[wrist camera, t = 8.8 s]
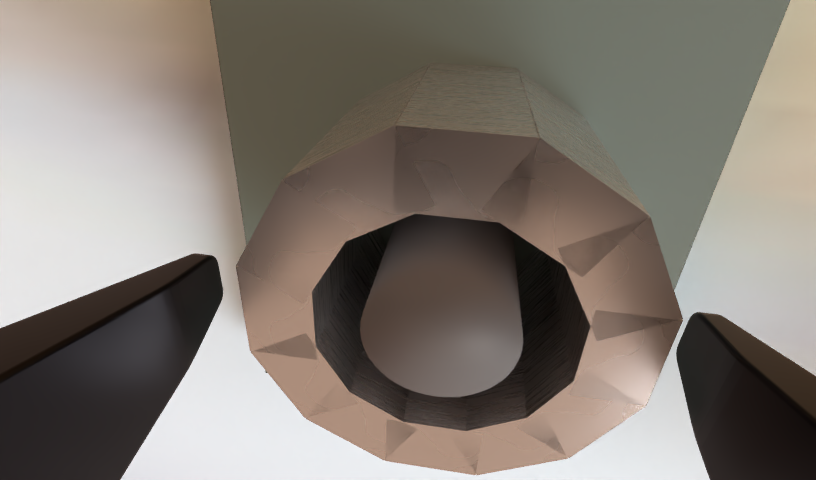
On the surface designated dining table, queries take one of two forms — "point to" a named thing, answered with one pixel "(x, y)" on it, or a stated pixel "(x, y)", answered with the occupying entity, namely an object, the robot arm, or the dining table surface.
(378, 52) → the post stand
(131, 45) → the dining table surface
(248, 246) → the tan faceted hollow ring
